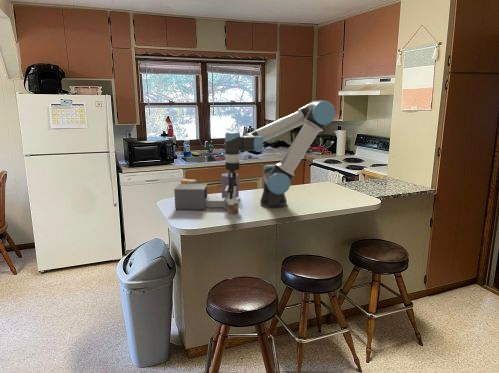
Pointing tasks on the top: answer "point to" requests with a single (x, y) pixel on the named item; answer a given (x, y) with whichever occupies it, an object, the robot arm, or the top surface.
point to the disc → (236, 200)
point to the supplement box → (188, 181)
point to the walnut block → (233, 209)
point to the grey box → (190, 197)
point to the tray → (217, 201)
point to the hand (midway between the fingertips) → (232, 201)
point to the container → (226, 183)
